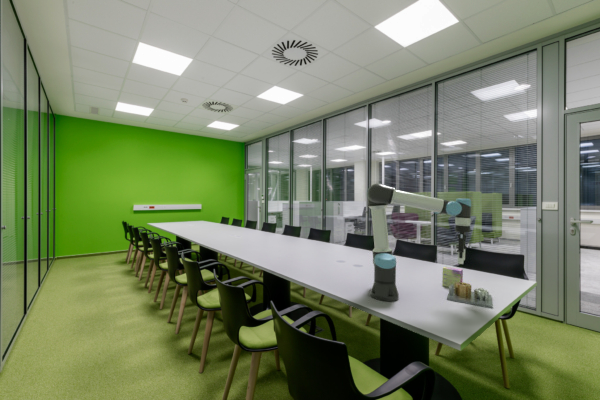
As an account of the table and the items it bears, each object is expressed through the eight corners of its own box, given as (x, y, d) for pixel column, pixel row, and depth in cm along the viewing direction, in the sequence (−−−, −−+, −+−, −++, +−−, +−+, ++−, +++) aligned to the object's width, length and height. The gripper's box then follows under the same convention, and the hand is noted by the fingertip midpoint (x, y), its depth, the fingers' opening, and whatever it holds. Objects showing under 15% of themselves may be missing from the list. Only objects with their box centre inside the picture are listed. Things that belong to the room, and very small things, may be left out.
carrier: (446, 299, 152) (447, 288, 152) (450, 289, 169) (450, 279, 169) (492, 308, 141) (492, 296, 141) (491, 297, 158) (491, 286, 158)
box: (462, 287, 174) (462, 269, 174) (460, 289, 170) (460, 270, 170) (444, 284, 181) (445, 266, 181) (442, 286, 177) (442, 267, 177)
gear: (454, 294, 156) (454, 284, 156) (455, 291, 163) (455, 281, 163) (470, 298, 152) (471, 287, 152) (471, 293, 159) (471, 283, 159)
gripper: (469, 227, 146) (467, 266, 146) (471, 224, 166) (470, 259, 166) (453, 225, 150) (451, 264, 150) (457, 223, 171) (456, 257, 171)
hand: (461, 261), depth 158 cm, fingers open, 13 cm apart
